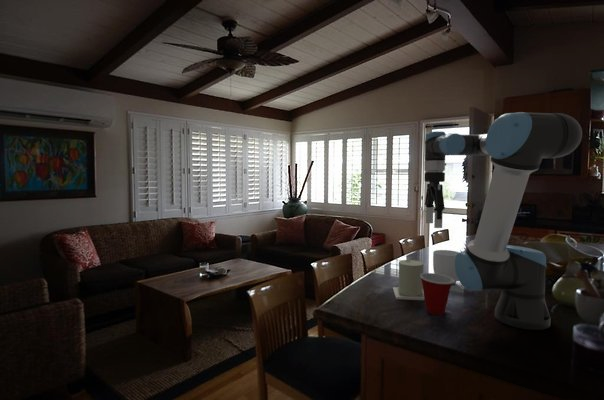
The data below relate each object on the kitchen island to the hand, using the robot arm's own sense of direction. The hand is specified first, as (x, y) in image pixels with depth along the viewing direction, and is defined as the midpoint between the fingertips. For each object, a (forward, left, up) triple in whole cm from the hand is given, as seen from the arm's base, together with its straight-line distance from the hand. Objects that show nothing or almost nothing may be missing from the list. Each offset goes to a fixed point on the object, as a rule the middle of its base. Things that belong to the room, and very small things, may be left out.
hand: (433, 225), depth 146 cm
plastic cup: (-25, +4, -26) cm, 36 cm away
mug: (+9, -8, -26) cm, 29 cm away
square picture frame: (-8, +10, -26) cm, 29 cm away
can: (-8, +10, -25) cm, 28 cm away
